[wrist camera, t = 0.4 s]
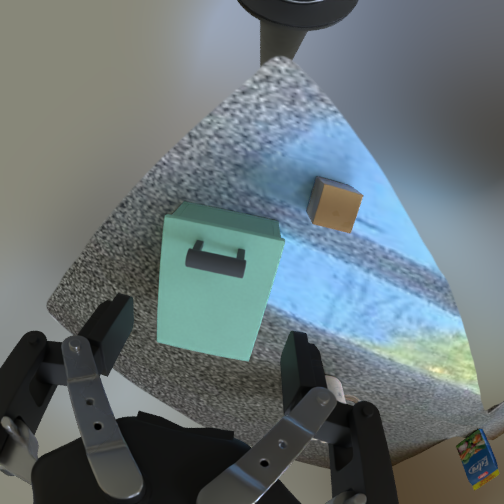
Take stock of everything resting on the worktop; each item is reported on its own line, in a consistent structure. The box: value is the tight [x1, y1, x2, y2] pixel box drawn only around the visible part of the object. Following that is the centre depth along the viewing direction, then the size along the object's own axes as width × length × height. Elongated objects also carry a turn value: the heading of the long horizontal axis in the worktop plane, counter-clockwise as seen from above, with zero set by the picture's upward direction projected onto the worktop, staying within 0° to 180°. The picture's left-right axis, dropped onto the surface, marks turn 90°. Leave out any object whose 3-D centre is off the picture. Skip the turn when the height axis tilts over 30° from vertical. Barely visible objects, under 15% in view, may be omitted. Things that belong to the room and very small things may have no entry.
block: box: [306, 176, 363, 233], centre depth 31 cm, size 4×4×4 cm
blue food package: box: [456, 429, 499, 490], centre depth 57 cm, size 6×12×25 cm, turn 147°
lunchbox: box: [172, 201, 281, 238], centre depth 34 cm, size 16×12×7 cm
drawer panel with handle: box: [157, 214, 285, 361], centre depth 28 cm, size 16×12×5 cm
